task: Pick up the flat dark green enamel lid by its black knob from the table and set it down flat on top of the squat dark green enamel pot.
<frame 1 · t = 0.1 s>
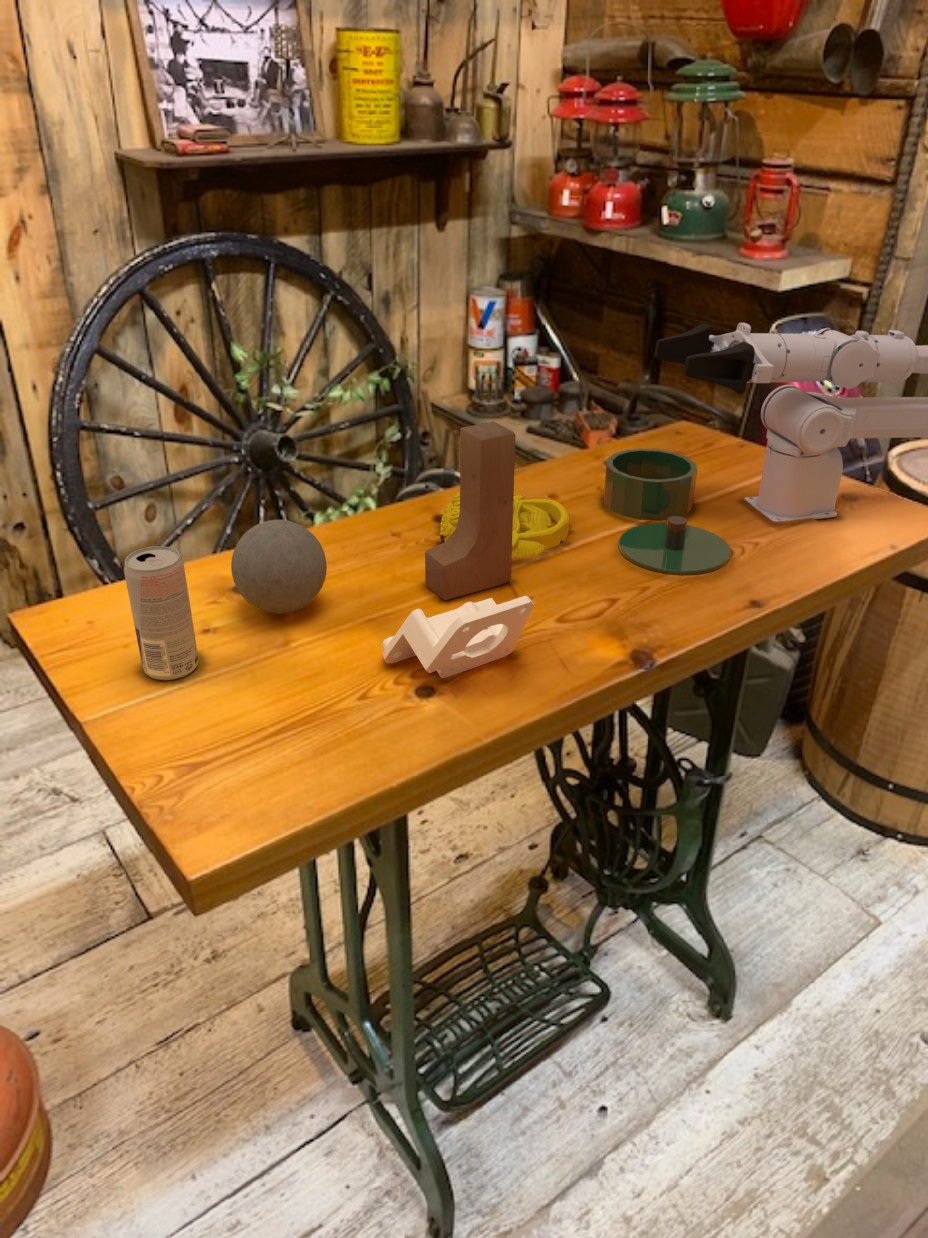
hand: (670, 357, 115), 22 cm above the table, tool horizontal, fingers open, 7 cm apart
decorative ball: (283, 609, 107), on the table
pot: (647, 505, 131), on the table
wooden block: (468, 585, 112), on the table
door knocker: (504, 533, 124), on the table
mounting bracket: (453, 667, 98), on the table
energy drink: (171, 668, 97), on the table
lid: (673, 549, 119), point 1 cm above the table
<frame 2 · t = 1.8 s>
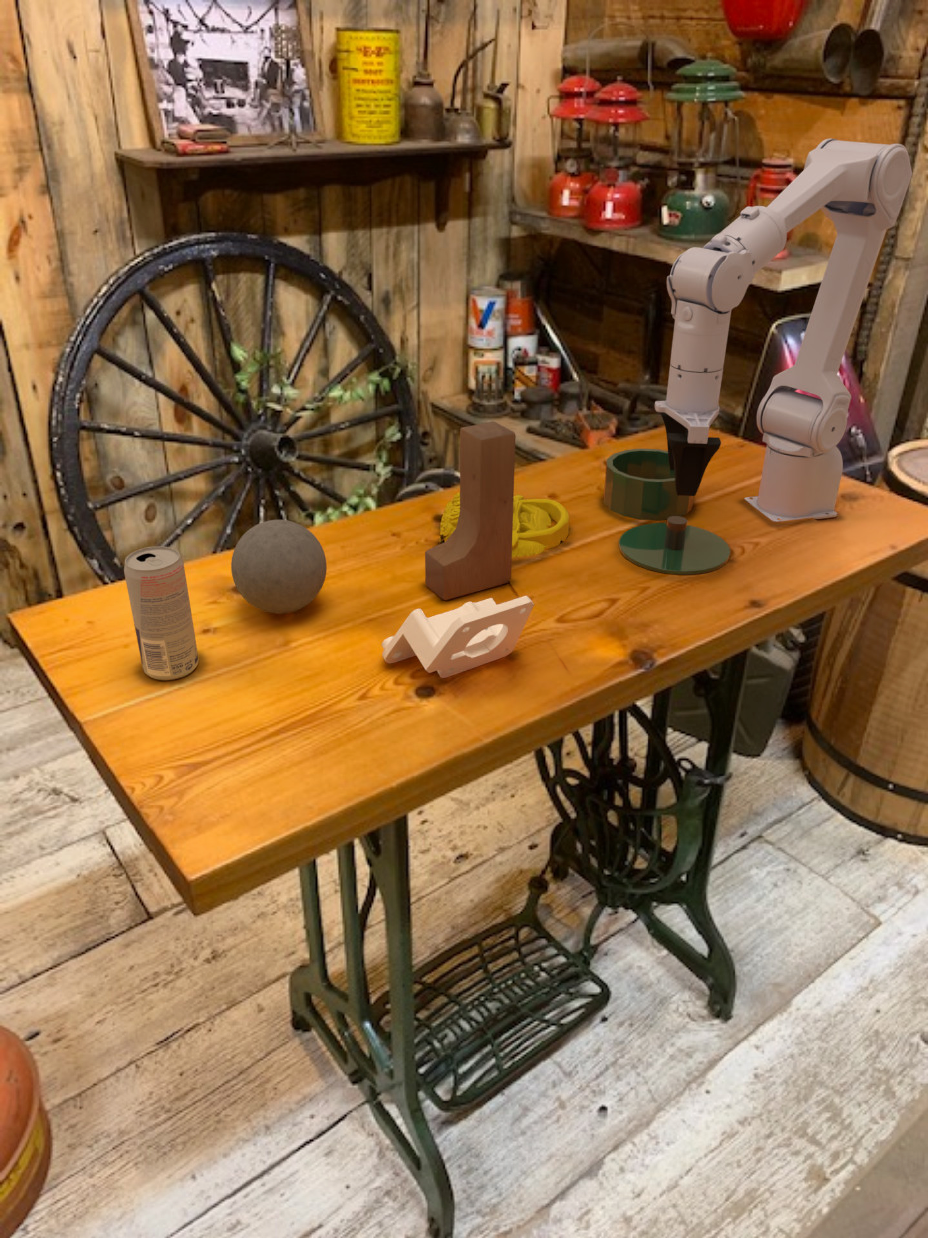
hand: (682, 481, 114), 9 cm above the table, tool pointing down, fingers open, 7 cm apart
nothing on the table moved.
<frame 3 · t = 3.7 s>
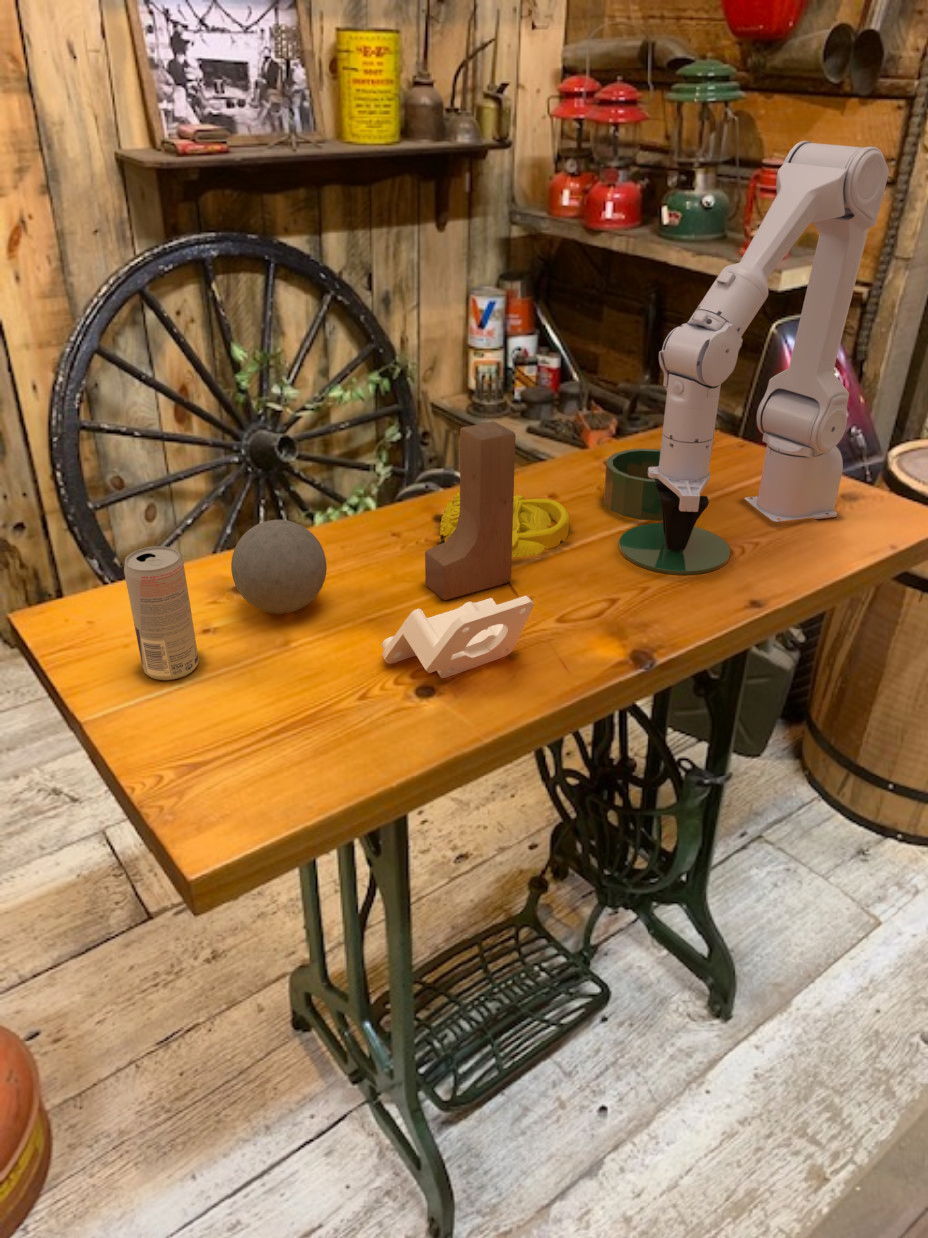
hand: (674, 542, 118), 2 cm above the table, tool pointing down, fingers closed on lid, 2 cm apart
lid: (673, 549, 119), point 1 cm above the table, touching gripper
everything else where it was.
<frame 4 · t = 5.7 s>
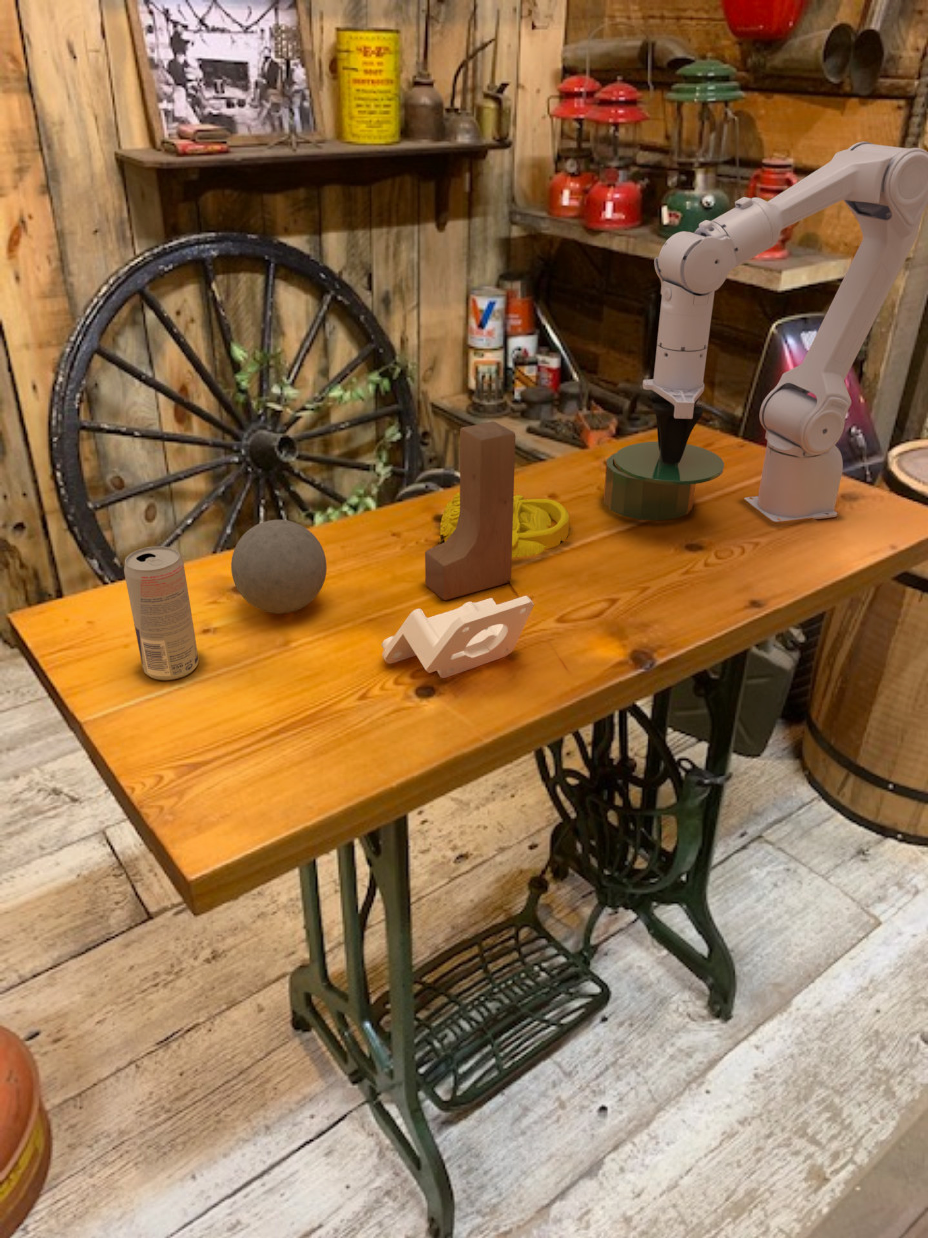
hand: (669, 456, 120), 10 cm above the table, tool pointing down, fingers closed on lid, 2 cm apart
lid: (668, 464, 120), point 9 cm above the table, touching gripper
everything else where it was.
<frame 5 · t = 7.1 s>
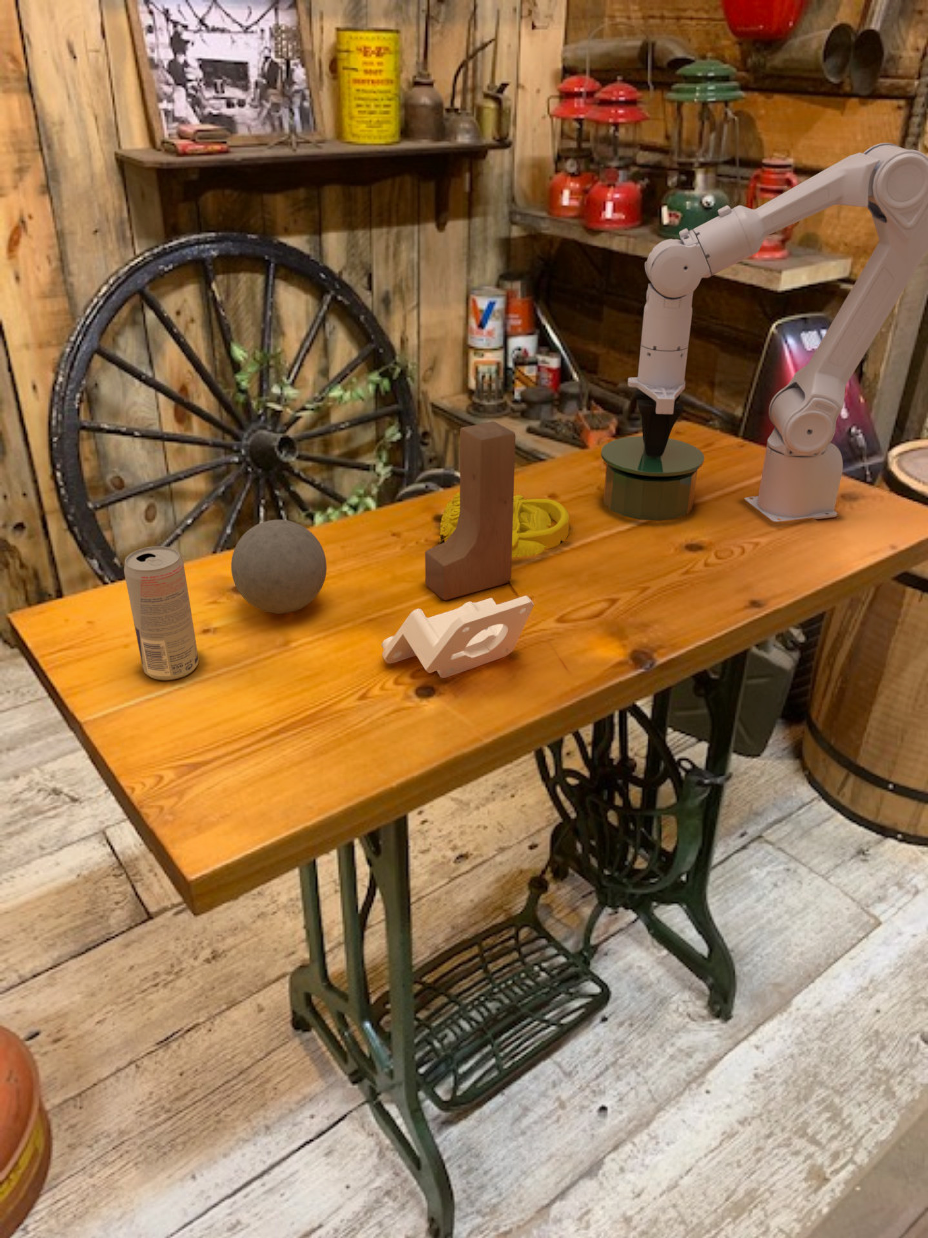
hand: (653, 450, 128), 8 cm above the table, tool pointing down, fingers closed on lid, 2 cm apart
lid: (652, 457, 128), point 7 cm above the table, touching gripper
everything else where it was.
when the fingers open (7 cm above the table, at t = 7.6 s): lid stays where it is, resting on pot.
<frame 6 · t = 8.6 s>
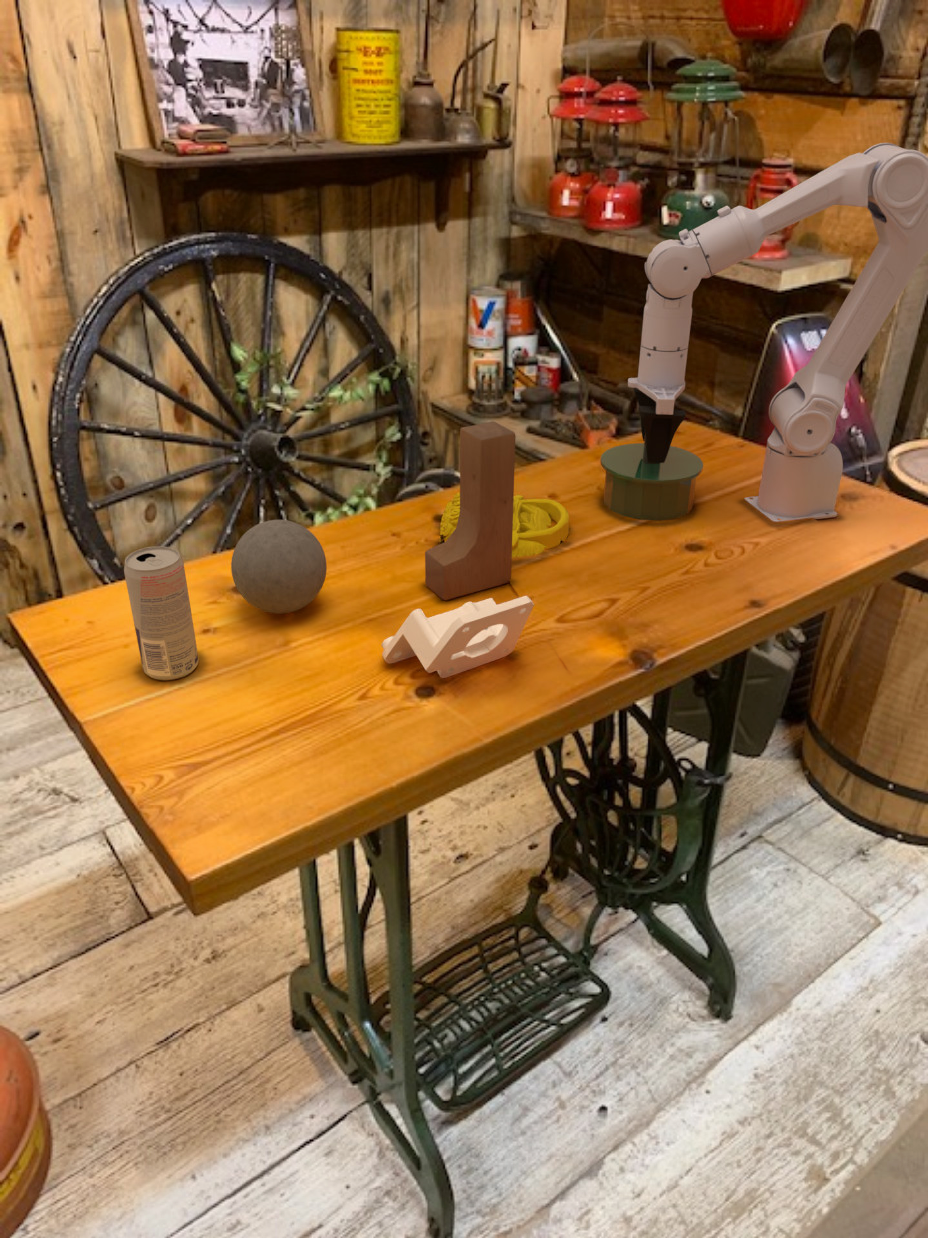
hand: (653, 450, 128), 8 cm above the table, tool pointing down, fingers open, 7 cm apart
lid: (651, 464, 128), point 6 cm above the table, touching pot
everything else where it was.
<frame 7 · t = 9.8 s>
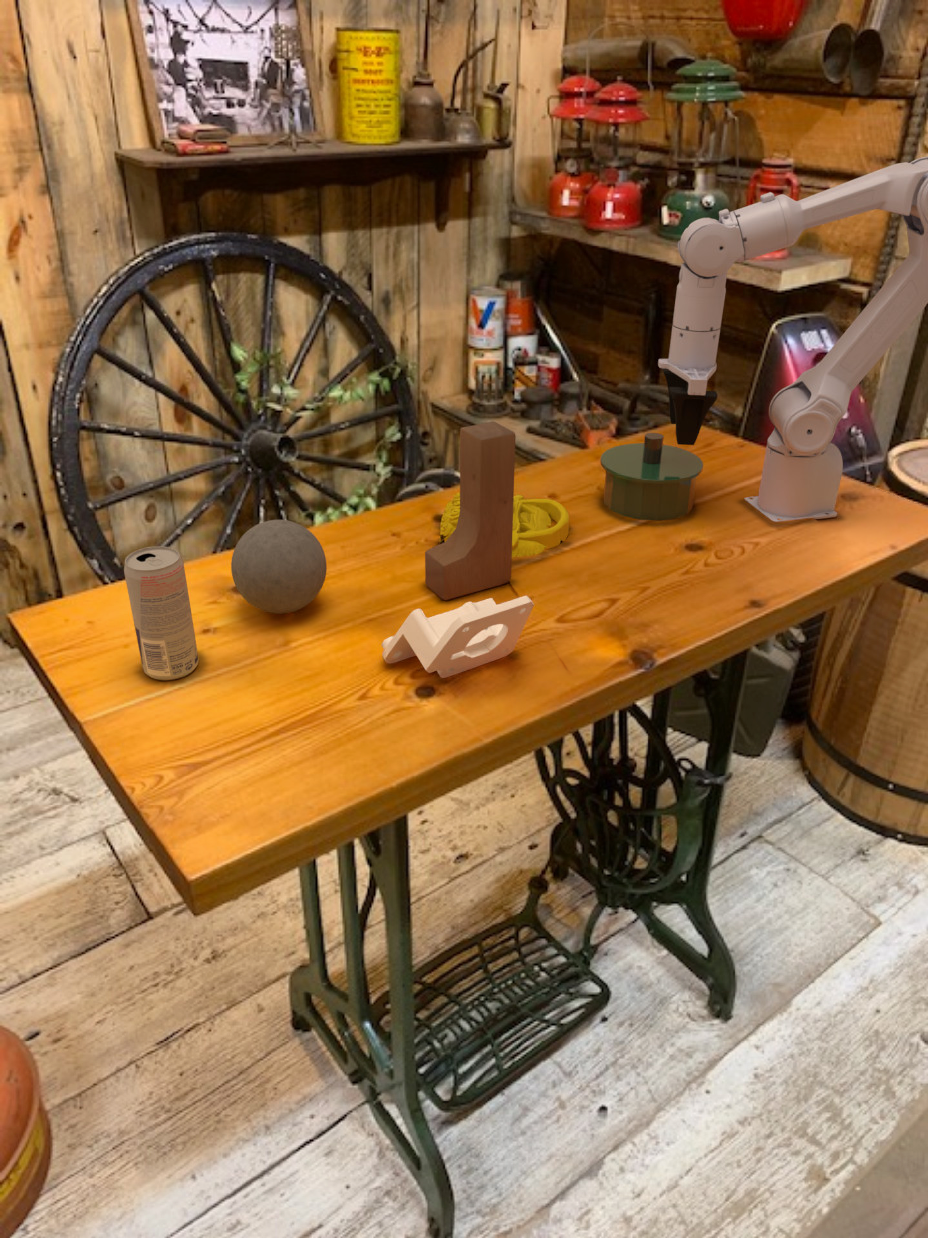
hand: (682, 433, 126), 10 cm above the table, tool pointing down, fingers open, 7 cm apart
nothing on the table moved.
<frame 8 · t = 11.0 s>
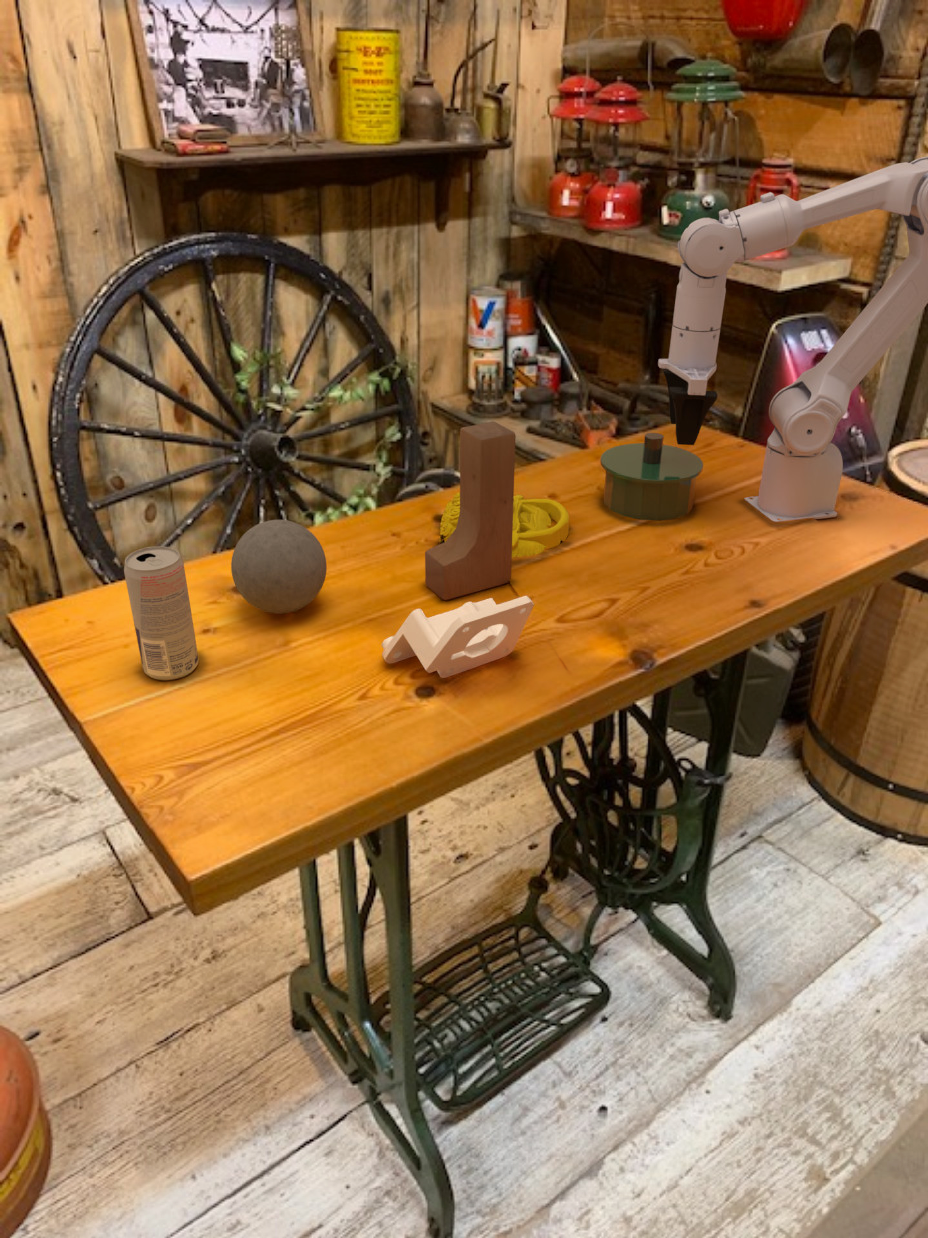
hand: (682, 433, 126), 10 cm above the table, tool pointing down, fingers open, 7 cm apart
nothing on the table moved.
at the end: lid 0.1 cm off-centre on the pot, point 5.9 cm above the pot's base; lid tilted 0° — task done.
